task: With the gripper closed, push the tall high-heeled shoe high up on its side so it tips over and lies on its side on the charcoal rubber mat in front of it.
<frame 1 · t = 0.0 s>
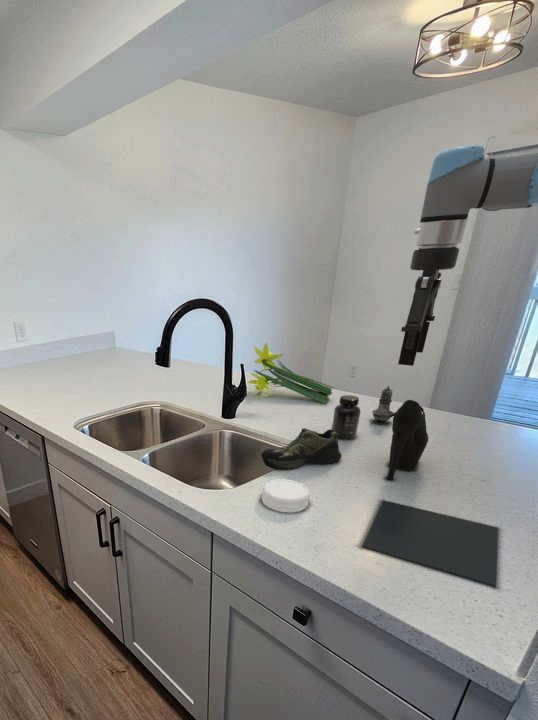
hand: (410, 358, 93), 29 cm above the worktop, tool pointing down, fingers open, 13 cm apart
high-heeled shoe: (397, 470, 109), on the worktop
hiking shoe: (299, 463, 116), on the worktop
coaster: (284, 502, 98), on the worktop
supplement bottle: (342, 437, 130), on the worktop
mat: (430, 539, 83), on the worktop
daffodil flowers: (288, 396, 168), on the worktop
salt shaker: (380, 423, 138), on the worktop
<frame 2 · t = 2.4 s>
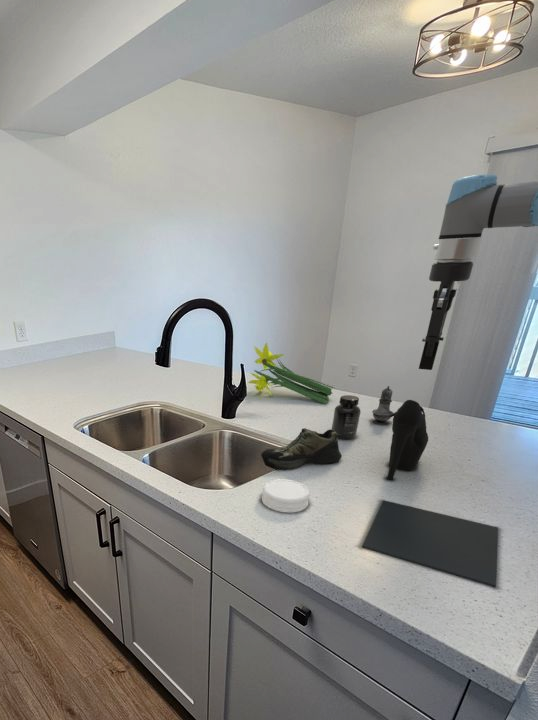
hand: (425, 368, 106), 23 cm above the worktop, tool pointing down, fingers closed
nothing on the worktop moved.
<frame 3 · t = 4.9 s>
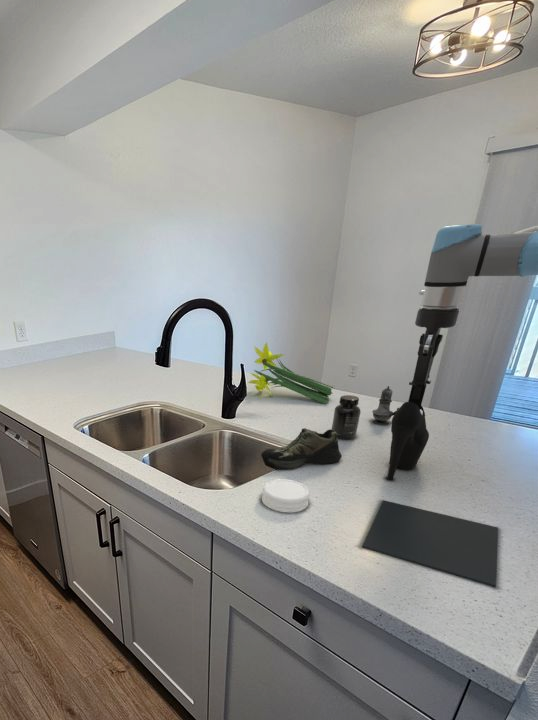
hand: (412, 411, 105), 15 cm above the worktop, tool pointing down, fingers closed
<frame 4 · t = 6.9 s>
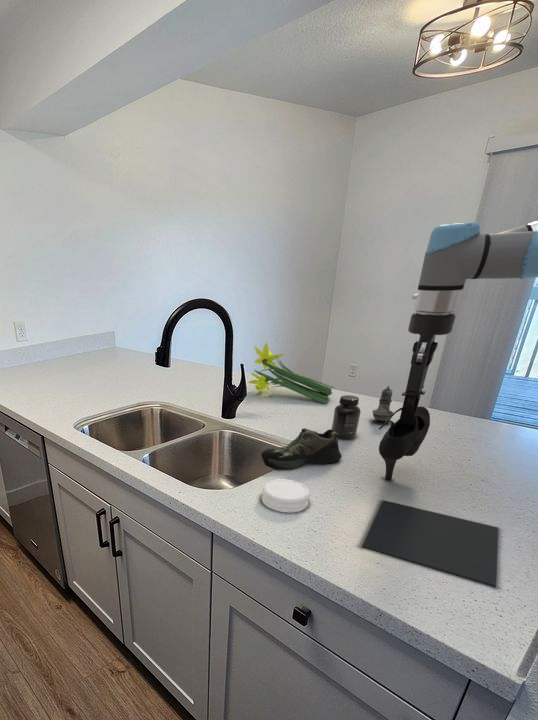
hand: (405, 423, 97), 15 cm above the worktop, tool pointing down, fingers closed
high-heeled shoe: (399, 454, 106), point 5 cm above the worktop, touching gripper
everything else where it was.
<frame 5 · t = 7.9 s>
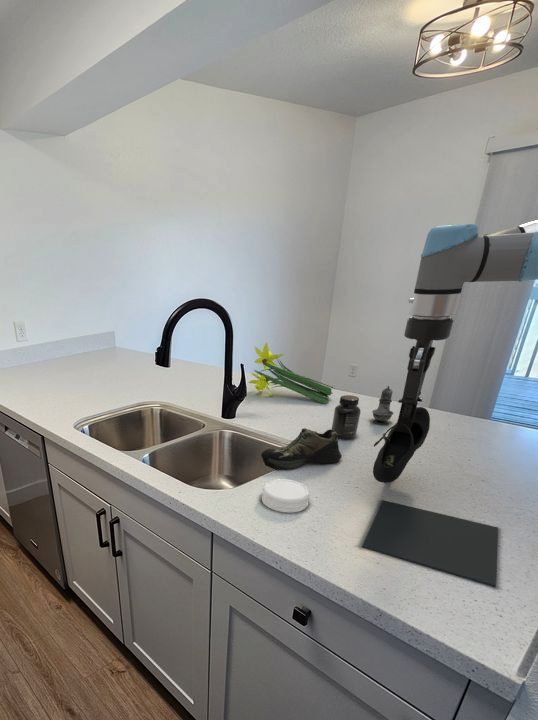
hand: (402, 431, 94), 14 cm above the worktop, tool pointing down, fingers closed
high-heeled shoe: (400, 450, 104), point 7 cm above the worktop, touching gripper
everything else where it was.
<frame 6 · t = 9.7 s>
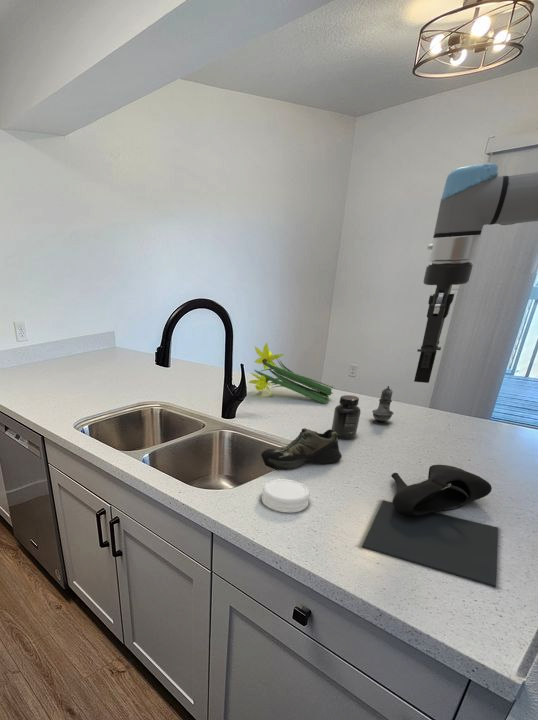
hand: (421, 381, 95), 24 cm above the worktop, tool pointing down, fingers closed
high-heeled shoe: (430, 474, 100), point 3 cm above the worktop
everything else where it was.
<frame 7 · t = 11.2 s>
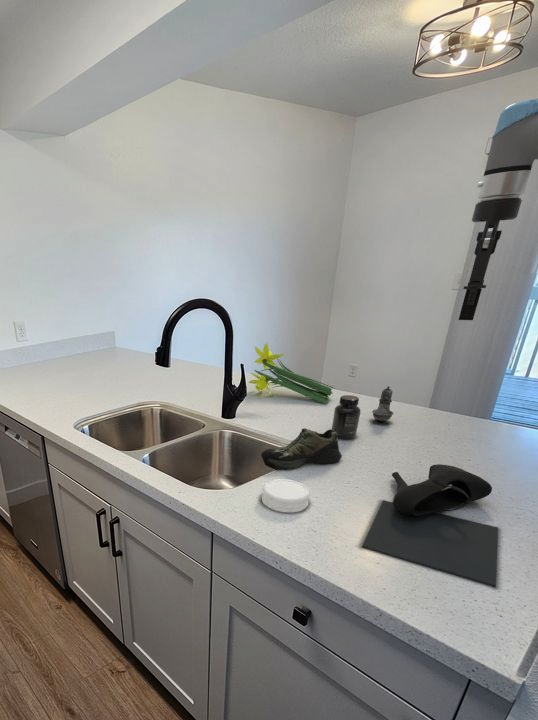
hand: (465, 319, 100), 34 cm above the worktop, tool pointing down, fingers closed
high-heeled shoe: (430, 473, 100), point 3 cm above the worktop, touching mat
everything else where it was.
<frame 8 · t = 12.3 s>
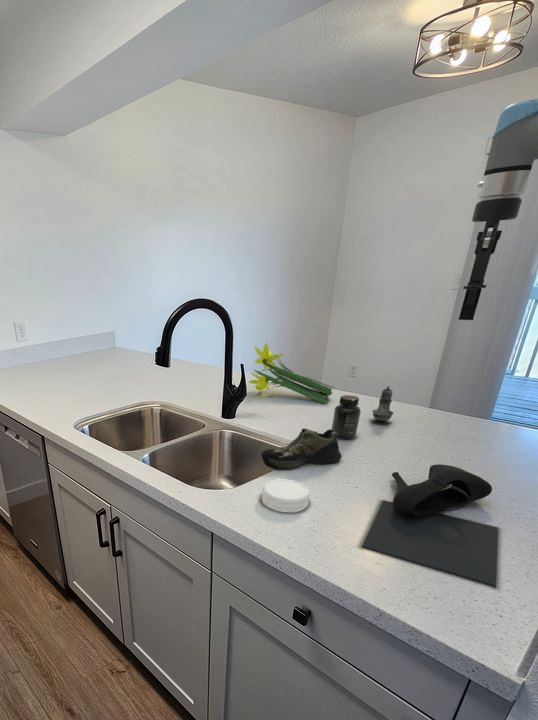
hand: (465, 319, 100), 34 cm above the worktop, tool pointing down, fingers closed
nothing on the worktop moved.
at the end: high-heeled shoe tilted 84°; high-heeled shoe touching mat, worktop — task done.
